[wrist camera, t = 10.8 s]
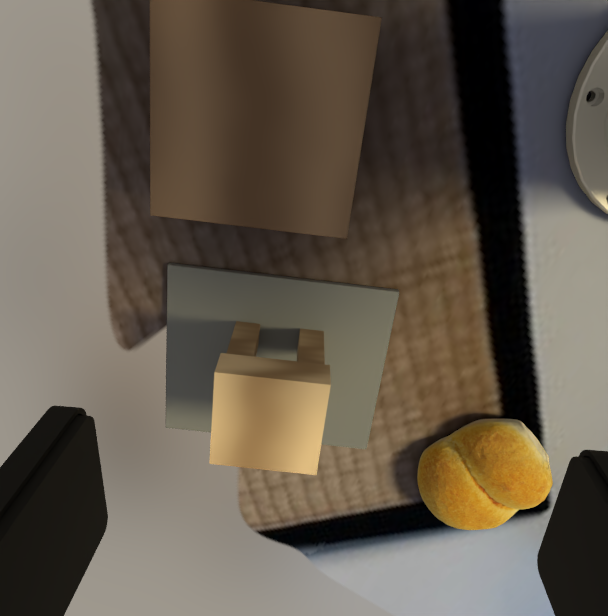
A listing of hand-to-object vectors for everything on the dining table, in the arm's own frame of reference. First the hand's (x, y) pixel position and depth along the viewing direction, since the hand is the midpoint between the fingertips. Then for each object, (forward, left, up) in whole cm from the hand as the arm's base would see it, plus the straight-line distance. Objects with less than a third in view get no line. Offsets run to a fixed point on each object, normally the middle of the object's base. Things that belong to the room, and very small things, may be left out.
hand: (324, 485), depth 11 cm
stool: (+1, +10, -22) cm, 24 cm away
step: (+4, -5, -22) cm, 23 cm away
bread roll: (-14, +17, -23) cm, 31 cm away
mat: (+2, +10, -22) cm, 24 cm away
